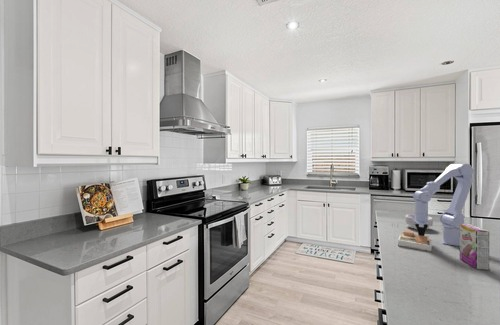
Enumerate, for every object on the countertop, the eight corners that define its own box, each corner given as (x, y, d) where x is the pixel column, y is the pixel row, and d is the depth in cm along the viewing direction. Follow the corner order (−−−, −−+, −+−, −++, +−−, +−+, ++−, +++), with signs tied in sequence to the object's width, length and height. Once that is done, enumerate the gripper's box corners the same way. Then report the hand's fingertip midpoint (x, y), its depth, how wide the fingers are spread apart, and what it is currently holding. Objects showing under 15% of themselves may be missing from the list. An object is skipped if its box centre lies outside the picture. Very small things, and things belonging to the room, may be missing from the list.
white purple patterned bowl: (409, 230, 158) (409, 218, 158) (402, 224, 172) (402, 213, 172) (436, 232, 153) (437, 219, 153) (427, 226, 168) (427, 214, 168)
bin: (430, 244, 130) (430, 239, 130) (431, 251, 120) (431, 245, 120) (399, 239, 138) (399, 234, 138) (398, 245, 128) (398, 240, 128)
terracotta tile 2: (414, 234, 141) (414, 231, 141) (413, 236, 137) (413, 233, 137) (403, 233, 144) (404, 229, 144) (403, 235, 140) (403, 231, 140)
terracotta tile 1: (427, 239, 131) (427, 236, 130) (427, 245, 127) (427, 242, 127) (416, 237, 134) (416, 234, 133) (415, 243, 130) (415, 240, 130)
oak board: (428, 239, 139) (428, 236, 139) (429, 244, 130) (429, 241, 130) (402, 235, 146) (402, 232, 146) (400, 240, 137) (400, 236, 137)
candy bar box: (458, 258, 111) (458, 223, 111) (471, 259, 110) (471, 224, 110) (475, 269, 100) (476, 230, 100) (490, 270, 99) (490, 230, 99)
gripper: (413, 209, 141) (413, 233, 141) (412, 214, 129) (412, 239, 129) (428, 211, 137) (427, 235, 137) (428, 216, 125) (428, 242, 125)
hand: (421, 237), depth 133 cm, fingers closed
